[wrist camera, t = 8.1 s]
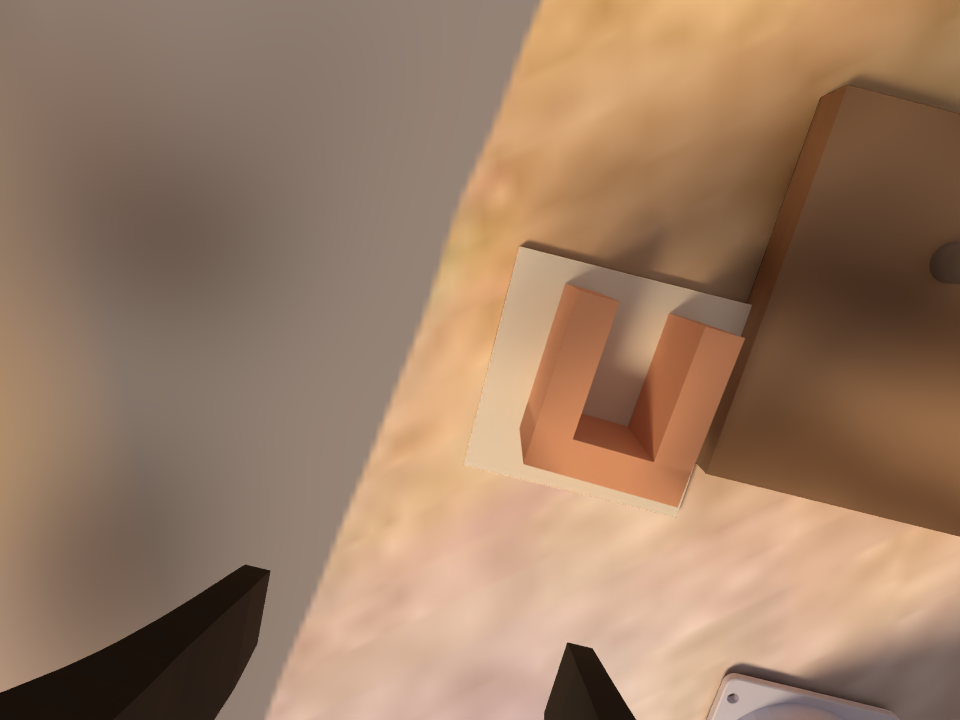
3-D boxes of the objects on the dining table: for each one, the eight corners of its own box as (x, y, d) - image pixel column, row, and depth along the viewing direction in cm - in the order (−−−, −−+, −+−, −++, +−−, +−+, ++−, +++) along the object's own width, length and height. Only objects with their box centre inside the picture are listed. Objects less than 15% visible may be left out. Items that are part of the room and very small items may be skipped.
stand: (949, 522, 22) (1098, 612, 16) (692, 458, 21) (756, 528, 16) (1116, 174, 19) (1366, 144, 13) (820, 97, 19) (951, 35, 13)
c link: (647, 464, 21) (677, 507, 18) (519, 428, 21) (523, 464, 18) (701, 322, 20) (745, 338, 16) (565, 283, 20) (579, 290, 16)
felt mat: (672, 512, 22) (675, 517, 22) (463, 461, 22) (463, 465, 21) (746, 303, 20) (751, 305, 20) (519, 246, 20) (519, 246, 20)
